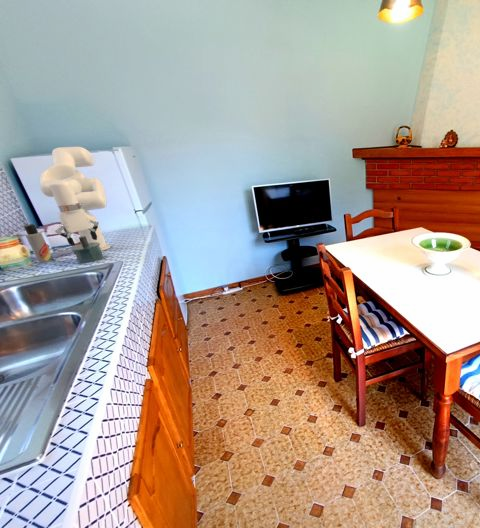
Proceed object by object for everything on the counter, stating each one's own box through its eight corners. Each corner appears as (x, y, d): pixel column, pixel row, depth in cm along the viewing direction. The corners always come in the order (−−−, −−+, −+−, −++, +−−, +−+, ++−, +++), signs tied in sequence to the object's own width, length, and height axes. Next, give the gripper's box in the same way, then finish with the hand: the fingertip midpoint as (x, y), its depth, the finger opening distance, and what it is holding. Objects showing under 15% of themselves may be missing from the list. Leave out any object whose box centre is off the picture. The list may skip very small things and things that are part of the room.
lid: (67, 250, 148) (62, 238, 146) (94, 243, 157) (89, 232, 155) (78, 253, 143) (73, 241, 141) (104, 245, 152) (100, 234, 150)
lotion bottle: (56, 260, 155) (39, 223, 147) (42, 265, 150) (23, 226, 142) (51, 259, 157) (33, 222, 149) (37, 263, 152) (18, 225, 144)
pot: (75, 262, 151) (69, 248, 148) (98, 255, 159) (92, 242, 156) (84, 265, 146) (78, 251, 144) (107, 258, 155) (102, 244, 152)
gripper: (87, 203, 151) (100, 236, 158) (42, 211, 137) (59, 247, 144) (95, 204, 147) (107, 238, 154) (49, 212, 134) (66, 249, 140)
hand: (84, 242), depth 149 cm, fingers open, 8 cm apart
